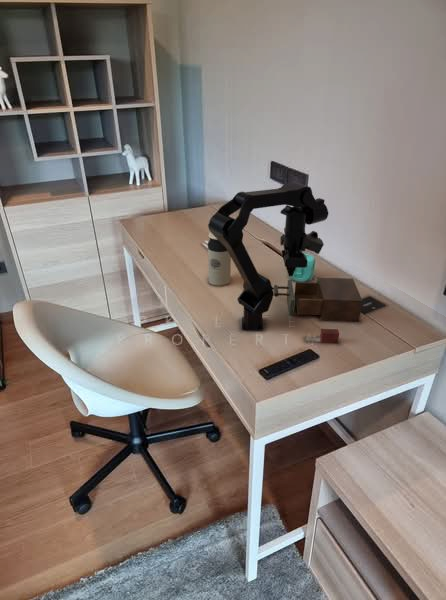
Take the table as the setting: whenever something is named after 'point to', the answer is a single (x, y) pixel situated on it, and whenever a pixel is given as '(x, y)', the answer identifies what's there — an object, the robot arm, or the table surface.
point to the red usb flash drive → (326, 336)
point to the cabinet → (340, 299)
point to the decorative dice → (305, 270)
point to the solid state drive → (370, 305)
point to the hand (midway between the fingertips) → (290, 275)
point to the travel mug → (218, 262)
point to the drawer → (302, 297)
